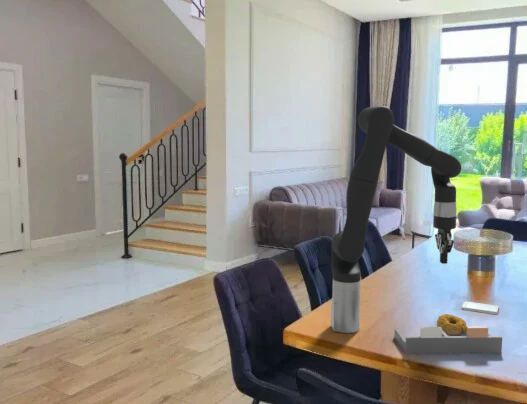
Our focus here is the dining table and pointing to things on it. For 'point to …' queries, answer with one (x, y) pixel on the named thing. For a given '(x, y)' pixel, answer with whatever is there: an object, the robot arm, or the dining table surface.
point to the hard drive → (480, 307)
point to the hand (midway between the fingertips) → (443, 263)
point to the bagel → (452, 324)
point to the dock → (450, 342)
